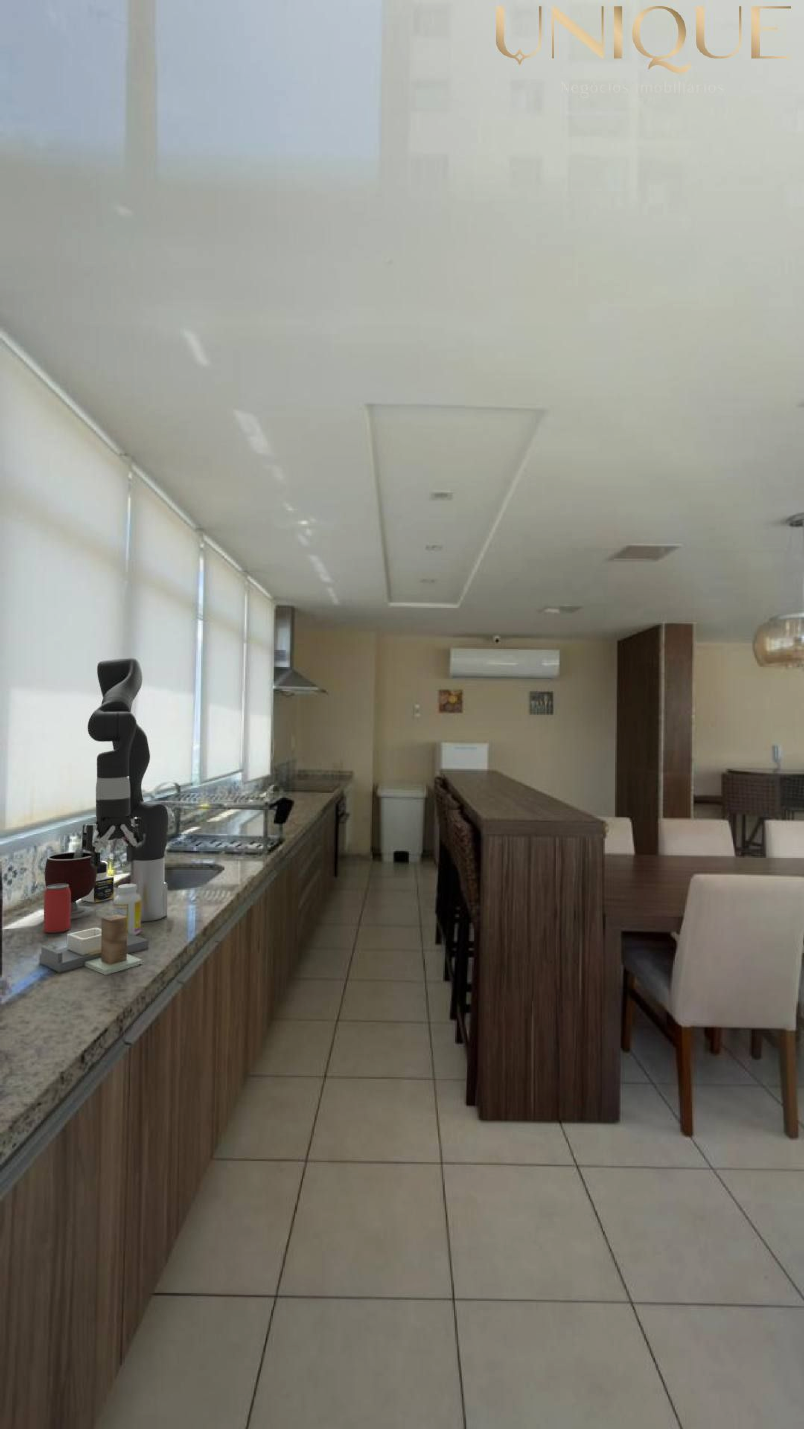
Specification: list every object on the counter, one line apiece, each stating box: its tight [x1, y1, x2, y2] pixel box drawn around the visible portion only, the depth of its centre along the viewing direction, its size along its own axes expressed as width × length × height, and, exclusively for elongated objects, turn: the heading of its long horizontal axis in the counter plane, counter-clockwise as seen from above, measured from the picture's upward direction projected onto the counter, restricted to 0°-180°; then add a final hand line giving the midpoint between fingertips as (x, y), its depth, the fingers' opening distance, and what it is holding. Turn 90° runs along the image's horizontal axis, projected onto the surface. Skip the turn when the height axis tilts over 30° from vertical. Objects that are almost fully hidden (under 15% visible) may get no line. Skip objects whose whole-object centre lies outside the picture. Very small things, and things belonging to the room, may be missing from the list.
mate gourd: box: [44, 842, 97, 920], centre depth 206 cm, size 16×14×20 cm
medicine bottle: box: [80, 860, 115, 904], centre depth 222 cm, size 7×7×12 cm
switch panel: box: [38, 933, 150, 973], centre depth 168 cm, size 22×10×4 cm, turn 142°
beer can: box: [43, 884, 72, 934], centre depth 188 cm, size 7×7×12 cm
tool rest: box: [84, 953, 143, 976], centre depth 161 cm, size 9×9×1 cm
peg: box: [100, 914, 127, 965], centre depth 161 cm, size 4×4×10 cm
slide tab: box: [66, 927, 101, 955], centre depth 166 cm, size 7×7×4 cm
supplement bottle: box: [113, 883, 142, 936], centre depth 185 cm, size 7×7×13 cm
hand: (113, 864), depth 164 cm, fingers open, 8 cm apart
